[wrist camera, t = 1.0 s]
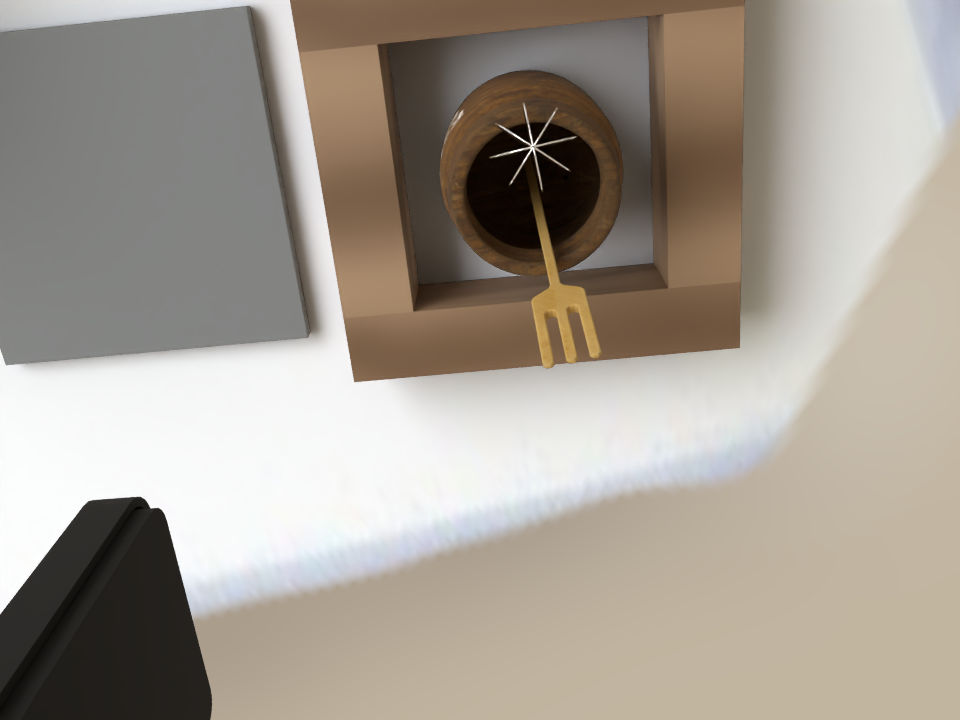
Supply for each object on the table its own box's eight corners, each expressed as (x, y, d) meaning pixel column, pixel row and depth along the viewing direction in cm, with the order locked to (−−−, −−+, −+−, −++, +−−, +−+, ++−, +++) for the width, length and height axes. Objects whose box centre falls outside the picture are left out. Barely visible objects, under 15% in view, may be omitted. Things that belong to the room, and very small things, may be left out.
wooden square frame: (302, -33, 30) (284, -34, 28) (721, -78, 30) (746, -84, 27) (364, 350, 36) (354, 382, 33) (719, 318, 35) (739, 347, 32)
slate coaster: (-91, 42, 31) (-101, 43, 31) (250, 5, 31) (245, 6, 30) (13, 358, 36) (5, 365, 35) (310, 332, 35) (307, 337, 35)
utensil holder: (590, 47, 31) (648, 85, 20) (621, 220, 34) (688, 338, 23) (425, 88, 32) (395, 146, 21) (468, 255, 34) (460, 387, 23)
